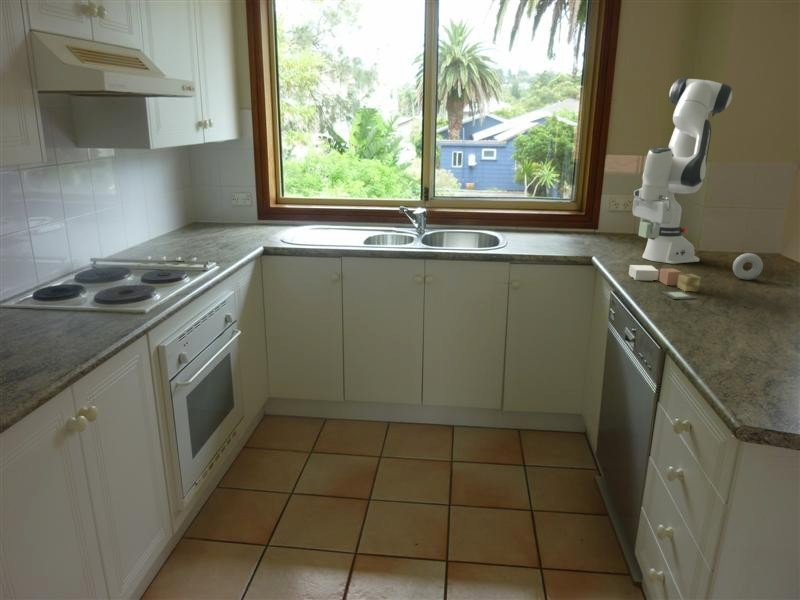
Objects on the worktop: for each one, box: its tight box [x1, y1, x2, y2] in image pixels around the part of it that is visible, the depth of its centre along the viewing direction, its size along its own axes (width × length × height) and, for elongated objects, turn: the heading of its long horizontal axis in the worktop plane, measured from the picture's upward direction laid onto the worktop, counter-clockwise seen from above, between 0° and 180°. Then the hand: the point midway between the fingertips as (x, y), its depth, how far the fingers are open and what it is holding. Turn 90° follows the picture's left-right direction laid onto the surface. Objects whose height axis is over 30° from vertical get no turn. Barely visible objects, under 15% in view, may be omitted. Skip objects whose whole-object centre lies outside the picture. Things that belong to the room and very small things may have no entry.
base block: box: [628, 264, 660, 281], centre depth 224 cm, size 8×8×4 cm
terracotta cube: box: [658, 268, 682, 286], centre depth 216 cm, size 5×5×5 cm
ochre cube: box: [676, 273, 702, 292], centre depth 209 cm, size 5×5×5 cm
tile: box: [661, 290, 697, 300], centre depth 202 cm, size 8×8×1 cm
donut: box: [732, 252, 764, 281], centre depth 222 cm, size 10×4×10 cm, turn 77°
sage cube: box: [637, 221, 660, 239], centre depth 219 cm, size 5×5×5 cm
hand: (648, 232), depth 220 cm, fingers closed on sage cube, 5 cm apart
